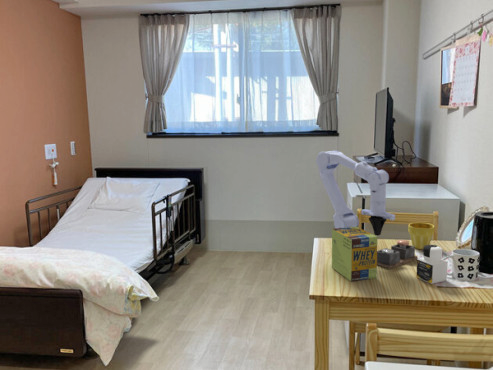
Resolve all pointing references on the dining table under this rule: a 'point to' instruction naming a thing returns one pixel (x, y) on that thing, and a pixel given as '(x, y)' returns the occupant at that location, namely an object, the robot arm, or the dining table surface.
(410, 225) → the plant pot
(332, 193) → the robot arm
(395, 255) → the wooden cubby shelf
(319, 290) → the dining table surface
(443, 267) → the medicine bottle
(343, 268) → the protein box
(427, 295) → the dining table surface
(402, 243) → the terracotta plunger
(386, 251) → the steel plunger
